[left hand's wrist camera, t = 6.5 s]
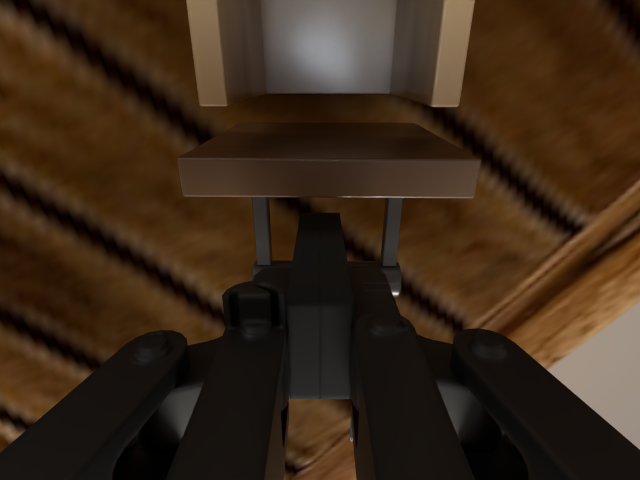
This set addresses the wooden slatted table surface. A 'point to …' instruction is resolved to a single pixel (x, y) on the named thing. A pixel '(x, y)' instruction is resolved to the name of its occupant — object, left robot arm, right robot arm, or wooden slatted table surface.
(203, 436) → the left robot arm
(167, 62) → the wooden slatted table surface
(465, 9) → the drawer
